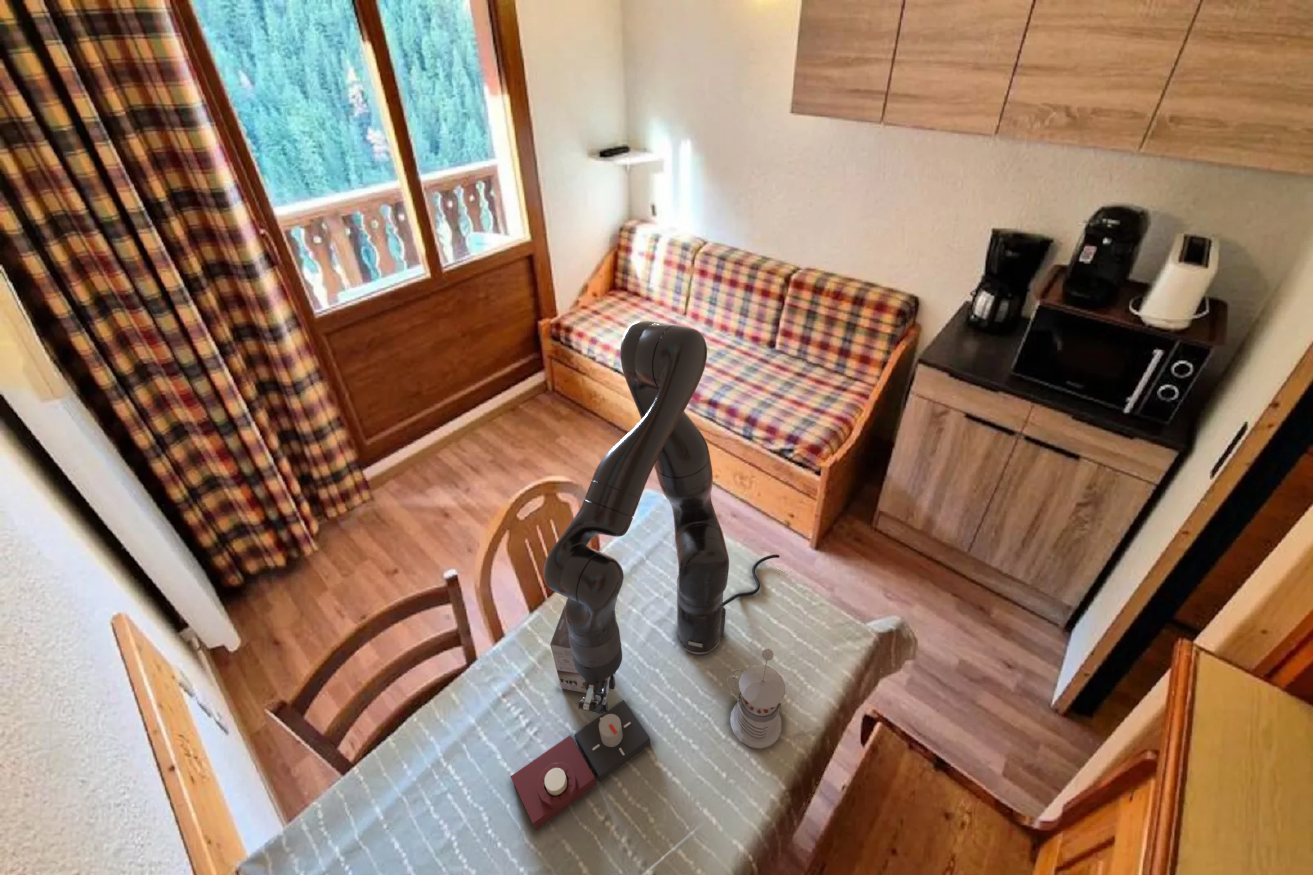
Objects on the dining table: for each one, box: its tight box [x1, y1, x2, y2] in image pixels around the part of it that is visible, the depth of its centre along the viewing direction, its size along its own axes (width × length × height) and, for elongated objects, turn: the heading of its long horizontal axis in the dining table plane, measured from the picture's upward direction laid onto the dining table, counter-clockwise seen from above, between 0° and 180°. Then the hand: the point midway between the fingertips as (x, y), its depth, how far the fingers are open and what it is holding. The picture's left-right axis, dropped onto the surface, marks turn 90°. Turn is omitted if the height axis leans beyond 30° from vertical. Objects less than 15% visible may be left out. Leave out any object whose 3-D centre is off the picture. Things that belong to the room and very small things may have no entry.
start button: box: [545, 768, 567, 795], centre depth 97 cm, size 4×4×2 cm
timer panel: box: [573, 699, 651, 782], centre depth 107 cm, size 11×9×3 cm
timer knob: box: [599, 714, 623, 747], centre depth 104 cm, size 4×4×5 cm
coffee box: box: [549, 605, 587, 694], centre depth 114 cm, size 9×6×16 cm
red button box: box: [510, 734, 598, 831], centre depth 101 cm, size 12×10×5 cm
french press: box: [726, 648, 786, 749], centre depth 102 cm, size 10×12×25 cm
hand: (605, 697), depth 97 cm, fingers open, 3 cm apart
